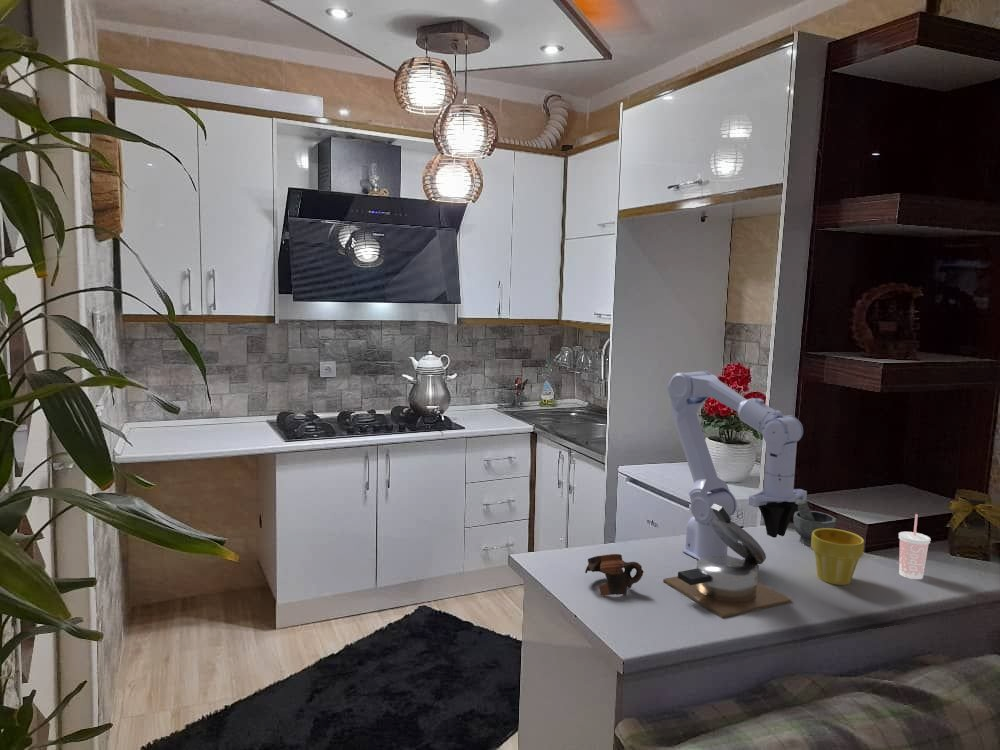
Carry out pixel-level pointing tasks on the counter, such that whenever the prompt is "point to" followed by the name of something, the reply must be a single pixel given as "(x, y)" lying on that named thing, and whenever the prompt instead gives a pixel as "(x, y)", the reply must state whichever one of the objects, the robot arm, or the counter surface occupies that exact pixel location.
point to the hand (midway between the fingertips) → (775, 535)
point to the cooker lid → (736, 537)
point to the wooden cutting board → (726, 586)
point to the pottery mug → (615, 573)
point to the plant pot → (836, 554)
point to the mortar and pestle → (810, 521)
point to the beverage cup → (913, 553)
